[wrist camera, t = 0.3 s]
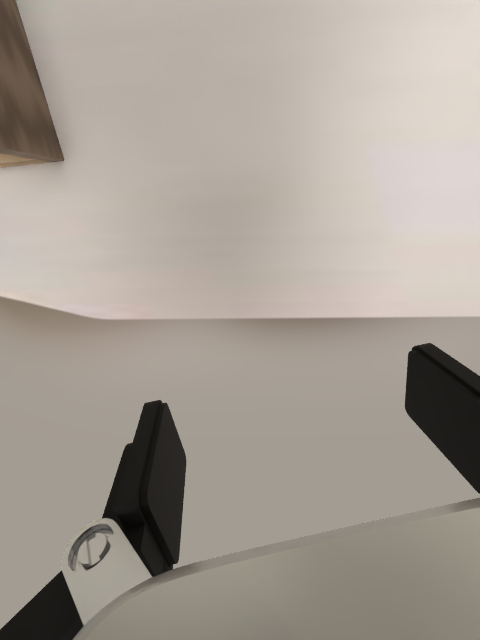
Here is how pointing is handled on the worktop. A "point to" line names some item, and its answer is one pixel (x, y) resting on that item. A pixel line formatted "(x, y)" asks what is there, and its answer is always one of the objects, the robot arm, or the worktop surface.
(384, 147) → the worktop surface
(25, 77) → the cleat shelf
